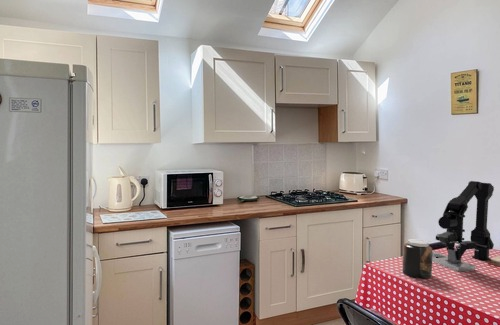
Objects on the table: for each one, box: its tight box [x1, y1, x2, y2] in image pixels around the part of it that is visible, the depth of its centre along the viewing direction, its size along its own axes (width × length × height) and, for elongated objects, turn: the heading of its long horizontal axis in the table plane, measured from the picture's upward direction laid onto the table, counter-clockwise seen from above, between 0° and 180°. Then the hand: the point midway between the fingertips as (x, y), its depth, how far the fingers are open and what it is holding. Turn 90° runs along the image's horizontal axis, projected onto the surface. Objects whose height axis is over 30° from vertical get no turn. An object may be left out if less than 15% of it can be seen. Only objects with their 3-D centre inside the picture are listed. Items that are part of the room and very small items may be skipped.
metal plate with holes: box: [432, 250, 476, 273], centre depth 178 cm, size 10×24×2 cm, turn 18°
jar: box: [402, 238, 433, 280], centre depth 160 cm, size 12×12×15 cm
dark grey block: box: [447, 247, 462, 263], centre depth 173 cm, size 4×4×6 cm
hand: (454, 258), depth 173 cm, fingers closed on dark grey block, 4 cm apart
